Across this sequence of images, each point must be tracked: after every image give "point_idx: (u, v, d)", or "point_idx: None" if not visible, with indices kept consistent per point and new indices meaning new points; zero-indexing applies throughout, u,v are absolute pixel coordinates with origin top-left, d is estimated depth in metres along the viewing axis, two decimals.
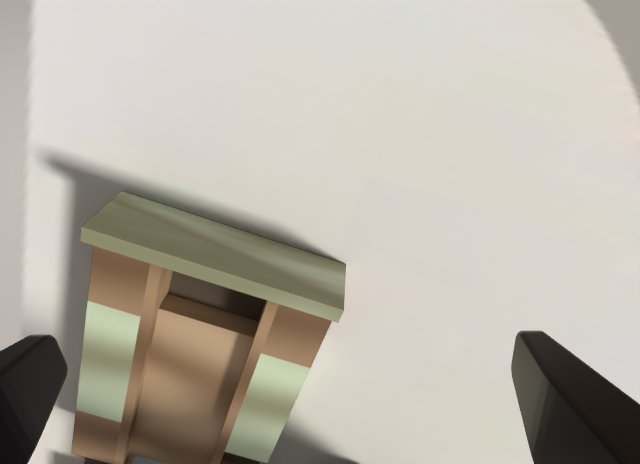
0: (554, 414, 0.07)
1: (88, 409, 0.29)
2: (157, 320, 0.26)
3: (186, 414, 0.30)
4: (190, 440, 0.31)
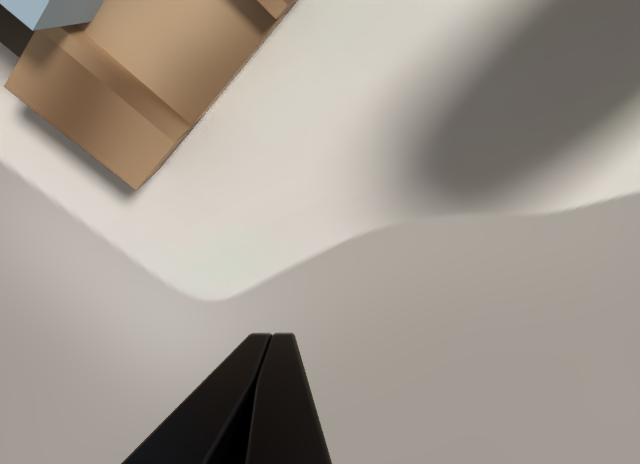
0: None
1: None
2: None
3: None
4: None
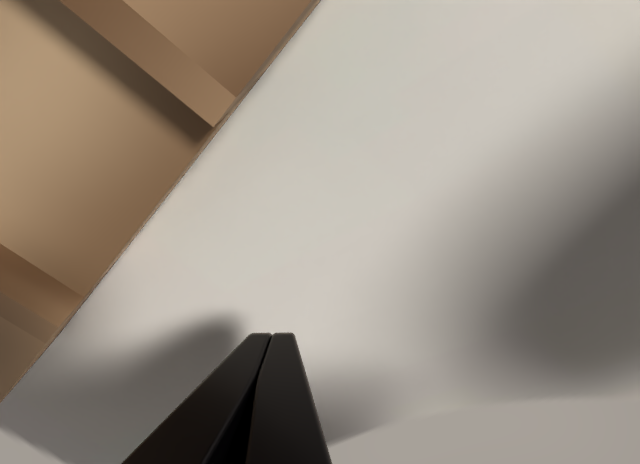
0: None
1: None
2: None
3: None
4: None
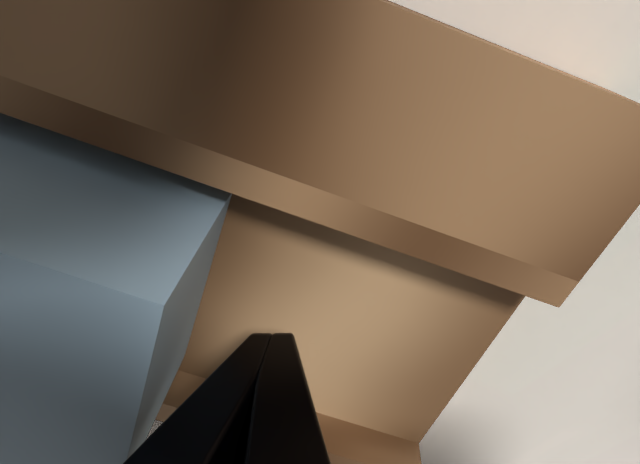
0: None
1: None
2: None
3: None
4: None
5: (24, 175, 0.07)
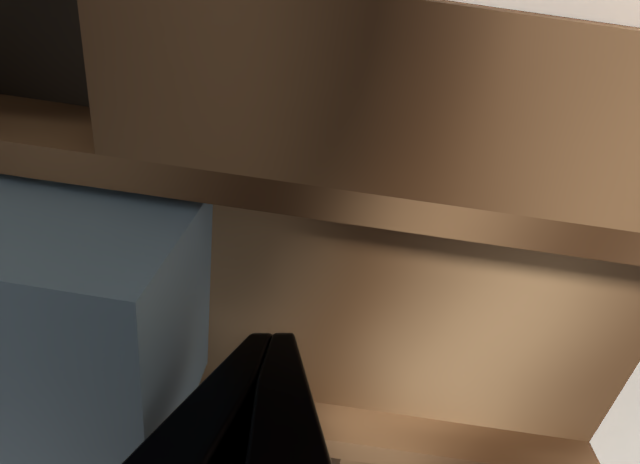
0: None
1: None
2: None
3: None
4: None
5: (4, 206, 0.07)
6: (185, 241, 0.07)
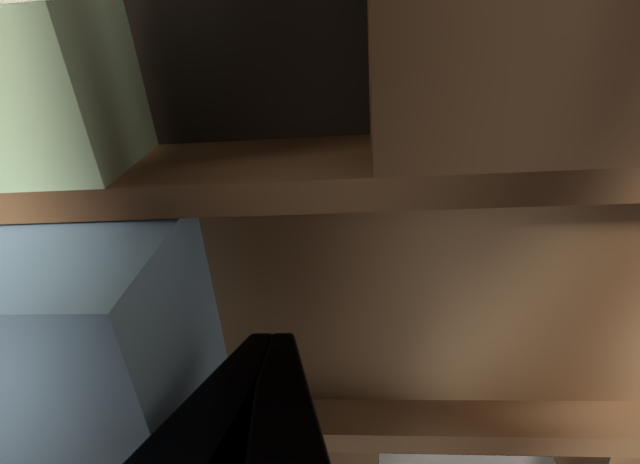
0: None
1: None
2: None
3: None
4: (219, 269, 0.10)
5: None
6: (166, 251, 0.08)
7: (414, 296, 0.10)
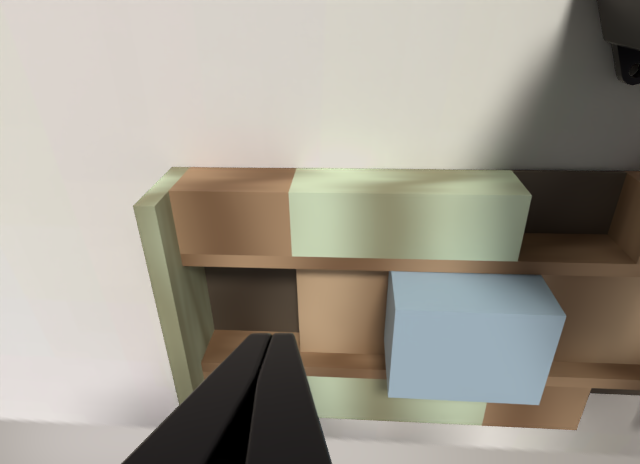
0: None
1: (476, 414, 0.23)
2: (318, 351, 0.23)
3: None
4: None
5: (475, 285, 0.18)
6: None
7: (622, 311, 0.20)
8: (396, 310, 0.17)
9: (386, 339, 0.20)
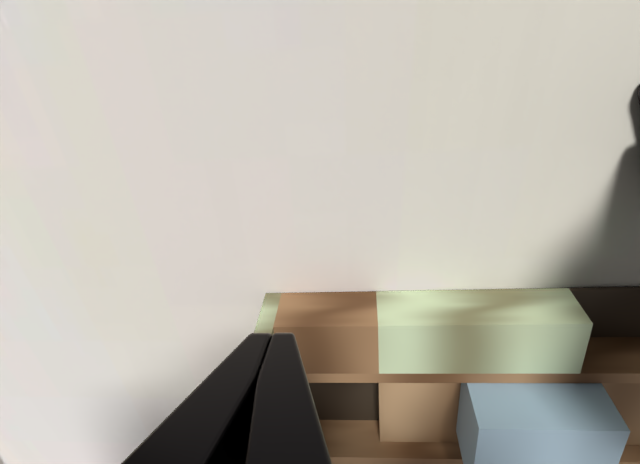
0: None
1: None
2: (395, 440, 0.25)
3: None
4: None
5: (544, 397, 0.21)
6: None
7: None
8: (479, 429, 0.19)
9: (461, 436, 0.23)
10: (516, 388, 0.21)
